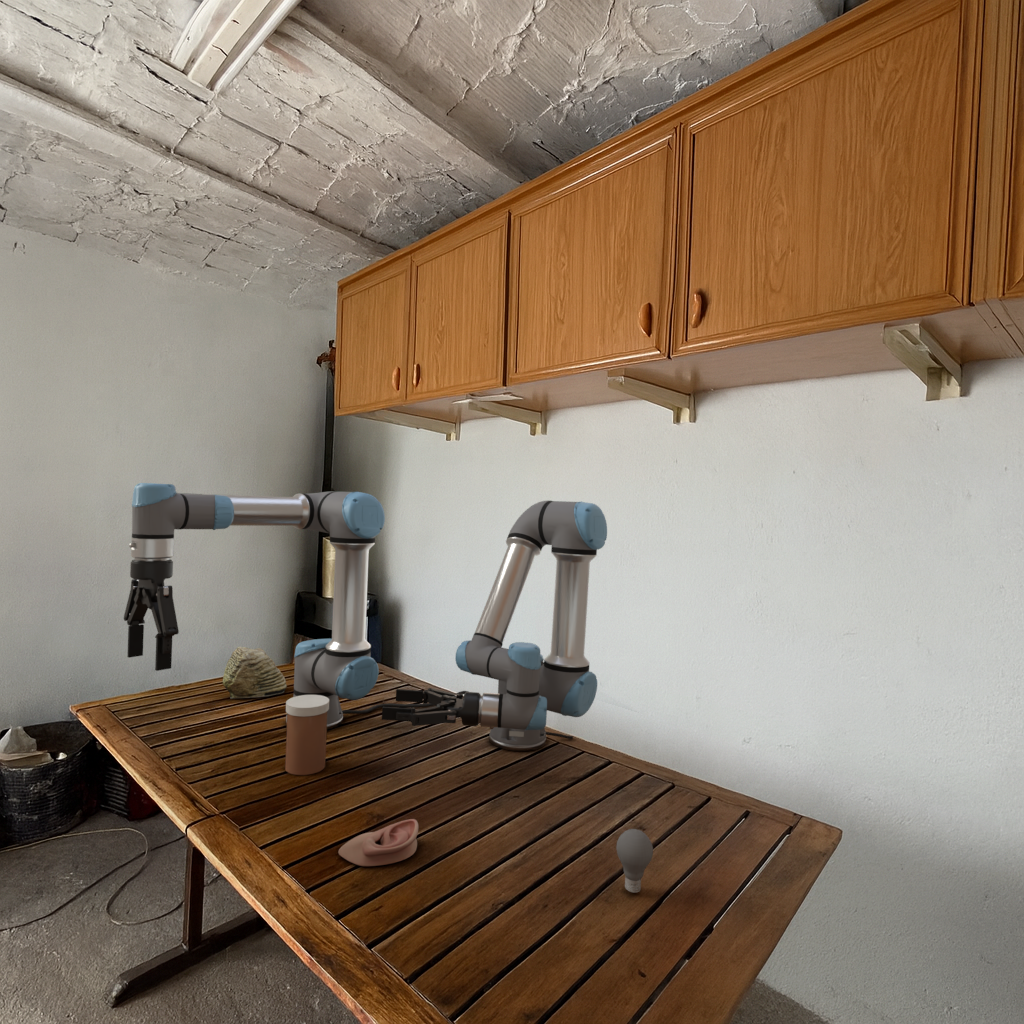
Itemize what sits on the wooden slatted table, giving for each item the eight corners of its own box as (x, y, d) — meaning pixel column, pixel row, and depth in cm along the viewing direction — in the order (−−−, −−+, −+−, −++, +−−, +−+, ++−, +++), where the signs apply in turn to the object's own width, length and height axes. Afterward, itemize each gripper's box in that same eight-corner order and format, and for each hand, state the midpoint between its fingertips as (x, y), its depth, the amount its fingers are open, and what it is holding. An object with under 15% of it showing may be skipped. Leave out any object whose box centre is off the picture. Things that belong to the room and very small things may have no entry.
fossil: (218, 695, 195) (220, 647, 195) (278, 685, 208) (279, 640, 207) (228, 703, 189) (230, 653, 188) (289, 692, 201) (290, 645, 201)
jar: (316, 776, 143) (318, 710, 143) (278, 773, 144) (280, 707, 144) (331, 760, 152) (333, 698, 152) (295, 757, 153) (297, 695, 153)
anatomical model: (330, 838, 110) (359, 807, 121) (329, 861, 110) (358, 828, 121) (402, 850, 107) (425, 817, 119) (401, 873, 108) (424, 838, 119)
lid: (319, 718, 142) (319, 709, 142) (278, 714, 143) (278, 706, 143) (335, 704, 152) (335, 696, 152) (296, 701, 153) (297, 693, 153)
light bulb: (610, 879, 108) (613, 822, 108) (644, 879, 109) (647, 822, 109) (619, 902, 102) (622, 840, 102) (655, 901, 103) (658, 840, 103)
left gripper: (108, 554, 134) (104, 654, 134) (159, 565, 118) (155, 678, 119) (146, 552, 140) (143, 648, 140) (199, 563, 124) (195, 671, 124)
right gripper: (473, 745, 134) (374, 739, 135) (484, 708, 159) (400, 703, 160) (475, 710, 134) (376, 704, 135) (485, 678, 159) (402, 673, 160)
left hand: (148, 662), depth 129 cm, fingers open, 13 cm apart
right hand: (389, 703), depth 148 cm, fingers open, 13 cm apart
